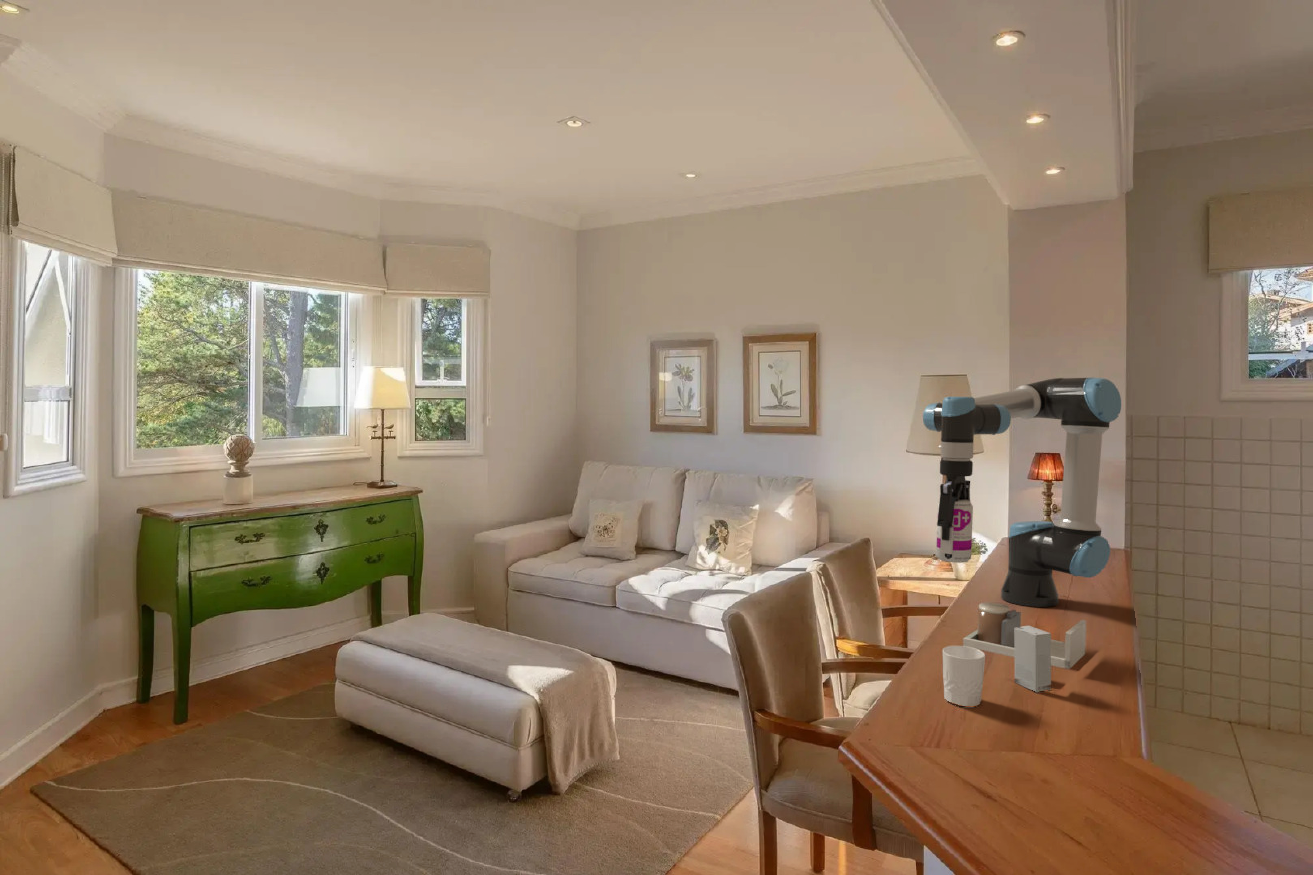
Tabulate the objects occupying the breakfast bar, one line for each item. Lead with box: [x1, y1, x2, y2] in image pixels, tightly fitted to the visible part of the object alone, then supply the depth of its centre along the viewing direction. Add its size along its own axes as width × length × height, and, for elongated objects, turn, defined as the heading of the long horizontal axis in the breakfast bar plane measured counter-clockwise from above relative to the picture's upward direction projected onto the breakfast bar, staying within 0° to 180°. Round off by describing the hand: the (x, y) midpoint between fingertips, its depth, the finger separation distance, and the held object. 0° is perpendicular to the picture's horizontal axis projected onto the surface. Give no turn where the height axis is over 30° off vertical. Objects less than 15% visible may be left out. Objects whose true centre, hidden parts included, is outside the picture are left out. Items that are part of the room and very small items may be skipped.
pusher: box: [1001, 609, 1022, 647], centre depth 185 cm, size 10×1×8 cm, turn 138°
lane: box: [962, 619, 1087, 670], centre depth 183 cm, size 13×23×9 cm, turn 48°
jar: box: [977, 601, 1011, 645], centre depth 187 cm, size 7×7×9 cm
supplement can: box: [935, 499, 974, 564], centre depth 194 cm, size 8×8×15 cm
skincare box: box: [1014, 625, 1052, 693], centre depth 164 cm, size 6×4×12 cm
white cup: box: [941, 645, 986, 706], centre depth 156 cm, size 8×8×10 cm
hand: (953, 550), depth 194 cm, fingers closed on supplement can, 8 cm apart
